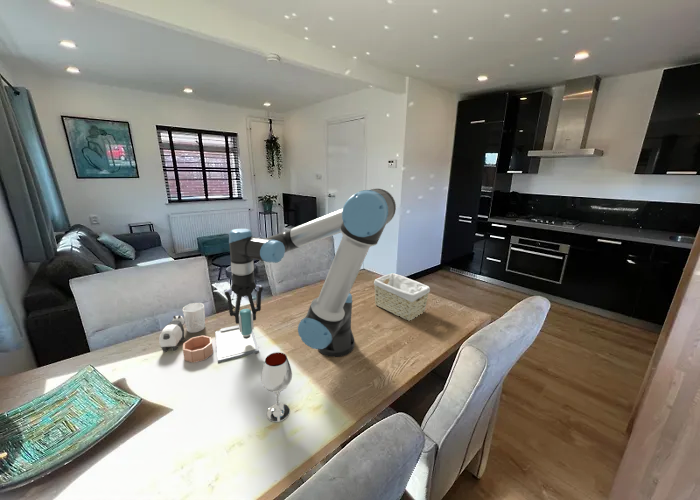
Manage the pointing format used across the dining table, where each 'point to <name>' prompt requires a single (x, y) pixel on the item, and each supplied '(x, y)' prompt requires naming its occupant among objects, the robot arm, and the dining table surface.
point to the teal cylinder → (246, 323)
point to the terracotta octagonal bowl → (197, 348)
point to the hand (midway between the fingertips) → (246, 328)
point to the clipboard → (234, 343)
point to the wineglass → (276, 383)
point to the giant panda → (172, 334)
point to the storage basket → (401, 295)
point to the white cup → (194, 317)
